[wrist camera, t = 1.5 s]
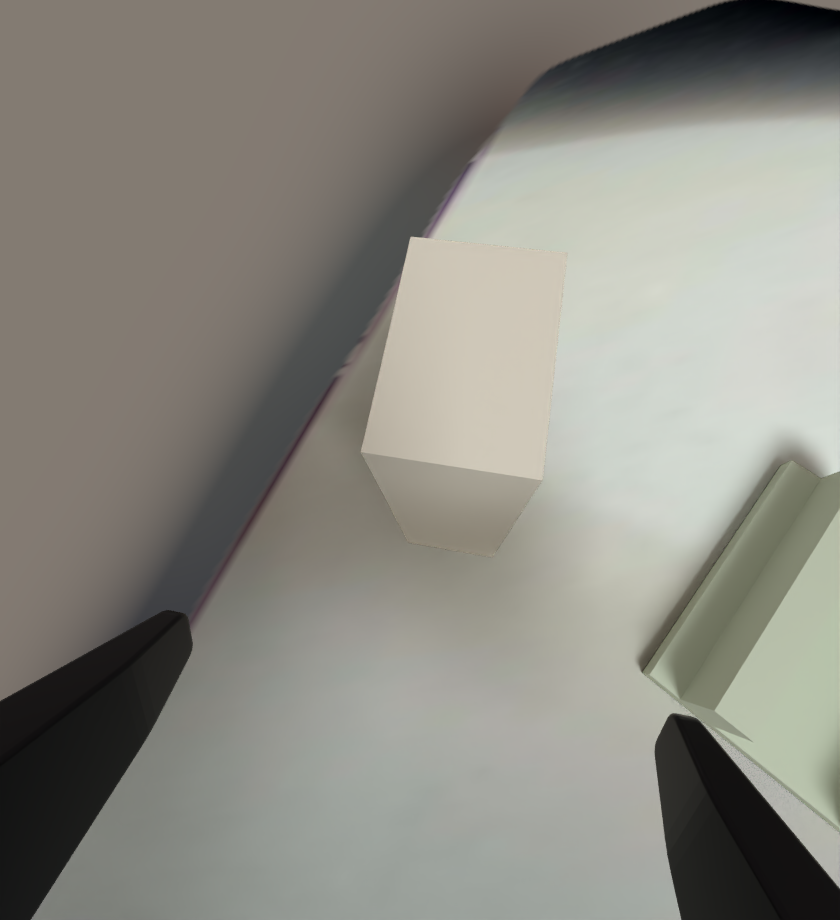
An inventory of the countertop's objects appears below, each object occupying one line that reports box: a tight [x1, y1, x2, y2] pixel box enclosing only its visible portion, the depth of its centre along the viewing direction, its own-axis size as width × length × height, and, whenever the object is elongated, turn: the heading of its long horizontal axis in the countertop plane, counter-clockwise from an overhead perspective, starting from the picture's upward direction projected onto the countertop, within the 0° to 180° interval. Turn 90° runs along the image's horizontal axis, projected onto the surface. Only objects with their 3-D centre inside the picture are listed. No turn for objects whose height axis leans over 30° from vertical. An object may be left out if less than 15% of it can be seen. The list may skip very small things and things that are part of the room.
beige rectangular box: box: [361, 237, 567, 557], centre depth 18 cm, size 6×4×13 cm, turn 170°
